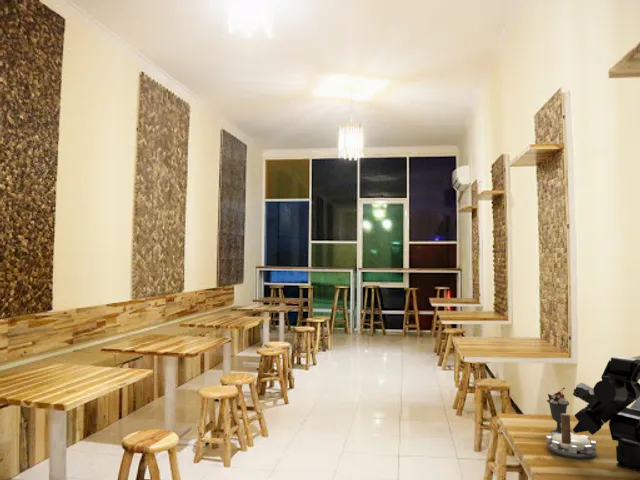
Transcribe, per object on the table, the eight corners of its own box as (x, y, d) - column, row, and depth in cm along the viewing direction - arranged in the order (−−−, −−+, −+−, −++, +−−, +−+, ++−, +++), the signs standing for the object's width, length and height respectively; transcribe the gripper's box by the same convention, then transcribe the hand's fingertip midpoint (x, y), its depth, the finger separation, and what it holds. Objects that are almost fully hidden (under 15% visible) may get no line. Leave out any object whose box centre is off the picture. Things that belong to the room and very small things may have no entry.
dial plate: (602, 450, 144) (601, 438, 144) (587, 463, 135) (587, 451, 135) (556, 439, 153) (556, 428, 153) (540, 450, 144) (539, 439, 144)
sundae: (574, 436, 155) (572, 389, 156) (553, 436, 156) (551, 389, 156) (564, 429, 162) (562, 384, 163) (544, 429, 162) (542, 384, 163)
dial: (594, 444, 144) (593, 411, 144) (583, 453, 137) (582, 419, 137) (559, 435, 151) (558, 405, 152) (547, 444, 144) (545, 412, 145)
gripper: (601, 369, 144) (563, 400, 151) (581, 382, 131) (541, 415, 138) (633, 401, 138) (592, 431, 145) (615, 417, 125) (572, 450, 132)
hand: (574, 431), depth 140 cm, fingers closed
